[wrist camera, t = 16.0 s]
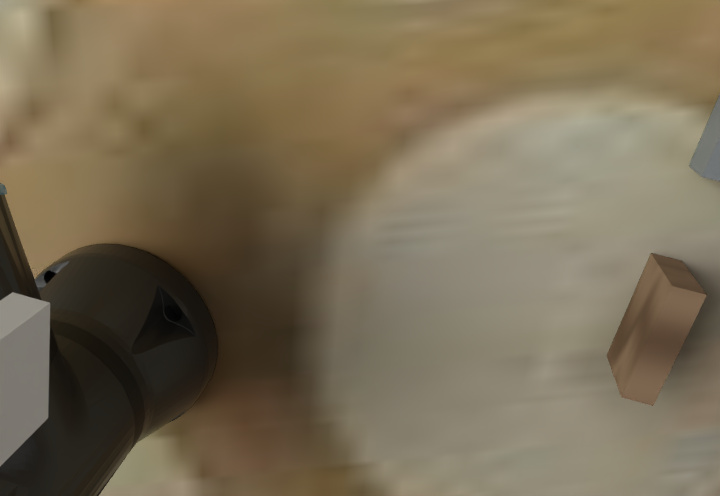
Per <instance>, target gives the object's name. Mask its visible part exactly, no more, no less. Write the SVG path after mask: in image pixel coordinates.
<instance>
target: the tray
mask: <svg viewBox="0 0 720 496" xmlns="http://www.w3.org/2000/svg"><path fill="white" fill-rule="evenodd" d="M689 166H690V167H691V168H692V169H693V170H694V171H695V172H697V173H698V174H699V175H700V176H701V177H704V178H708V179H712V180H716V181H720V95H719V97H718V100H717V102H716V104H715V107H714V109H713V111H712V113H711V116H710V118H709V120H708V123H707V125H706V127H705V130H704V132H703V134H702V137H701V139H700V141H699V144H698V146H697V148H696V150H695V153H694V155H693V157H692V160H691V162H690V164H689Z"/></svg>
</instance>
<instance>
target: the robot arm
mask: <svg viewBox="0 0 720 496" xmlns="http://www.w3.org/2000/svg"><path fill="white" fill-rule="evenodd" d="M4 194H7V191H6V188H5V186H4V185H3V184H1V183H0V496H99V494H100V493H101V491H102V490H103V489H104V487H105V486H106V484H107V483H108V482H109V480H110V479H111V477H112V476H113V475H114V473H115V472H116V470H117V469H118V467H119V466H120V465H121V463H122V462H123V460H124V459H125V458H126V456H127V455H128V453H129V452H130V451H131V449H132V448H133V447H134V445H135V444H136V443H137V442H139V441H140V440H142V439H143V438H145V437H147V436H148V435H150V434H152V433H153V432H155V431H156V430H158V429H159V428H161V427H162V426H164V425H165V424H167V423H169V422H171V421H173V420H175V419H176V418H178V417H180V416H181V415H182V414H184V413H185V412H186V411H187V410H188V409H189V408H190V407H191V406H192V405H193V404H194V403H195V401H196V400H197V399H198V397H199V396H200V394H201V393H202V391H203V390H204V388H205V387H206V385H207V384H208V382H209V381H210V379H211V377H212V374H213V372H214V369H215V365H216V360H217V337H216V332H215V327H214V324H213V321H212V318H211V316H210V313H209V311H208V309H207V307H206V305H205V303H204V302H203V300H202V299H201V297H200V296H199V294H198V293H197V291H196V290H195V289H194V288H193V286H192V285H191V284H190V283H189V282H188V281H187V280H186V279H185V278H184V277H183V276H182V275H181V274H180V273H179V272H177V271H176V270H175V269H174V268H172V267H171V266H170V265H168V264H167V263H165V262H163V261H162V260H160V259H158V258H157V257H155V256H153V255H151V254H148V253H146V252H144V251H141V250H138V249H135V248H131V247H127V246H122V245H114V244H97V245H90V246H86V247H82V248H79V249H76V250H74V251H72V252H70V253H68V254H66V255H65V256H63V257H62V258H60V259H59V260H57V261H56V262H54V263H53V264H51V265H50V266H48V267H47V268H45V269H44V270H43V271H42V272H41V273H40V274H39V275H38V276H37V277H36V278H35V279H34V277H33V274H32V271H31V269H30V266H29V263H28V260H27V258H26V255H25V252H24V249H23V247H22V244H21V241H20V239H19V236H18V233H17V230H16V227H15V224H14V221H13V218H12V215H11V212H10V209H9V206H8V203H7V200H6V198H5V195H4Z"/></svg>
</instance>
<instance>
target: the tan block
mask: <svg viewBox="0 0 720 496" xmlns="http://www.w3.org/2000/svg"><path fill="white" fill-rule="evenodd" d="M706 296H707V294H706V293H705V292H704V290H703V289H702V288H701V286H700V285H699V284H698V282H697V281H696V280H695V278H694V277H693V275H692V274H691V273H690V271H689V270H688V269H687V267H686V266H685V265H684V263H683V262H682V261H679V260H675V259H672V258H668V257H664V256H660V255H656V254H652V253H651V254H650V257H649V259H648V261H647V264H646V266H645V268H644V271H643V273H642V275H641V278H640V280H639V282H638V285H637V287H636V289H635V291H634V294H633V296H632V298H631V301H630V303H629V305H628V308H627V310H626V312H625V315H624V317H623V319H622V322H621V324H620V326H619V328H618V331H617V333H616V335H615V338H614V340H613V342H612V345H611V347H610V349H609V352H608V354H607V357H608V360H609V363H610V366H611V369H612V372H613V374H614V377H615V380H616V383H617V386H618V389H619V392H620V394H621V397H623V398H627V399H630V400H634V401H638V402H641V403H645V404H649V405H652V406H653V405H654V403H655V401H656V399H657V397H658V395H659V393H660V391H661V389H662V387H663V385H664V383H665V380H666V378H667V376H668V374H669V372H670V370H671V368H672V366H673V364H674V362H675V360H676V358H677V356H678V354H679V352H680V350H681V348H682V345H683V343H684V341H685V339H686V337H687V335H688V333H689V331H690V329H691V327H692V325H693V323H694V321H695V319H696V317H697V315H698V312H699V310H700V308H701V306H702V304H703V302H704V300H705V298H706Z"/></svg>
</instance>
